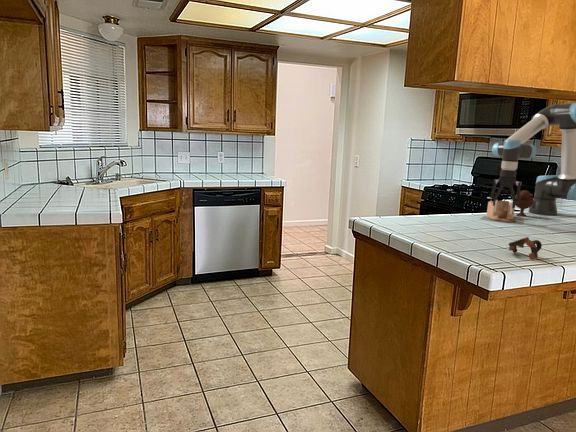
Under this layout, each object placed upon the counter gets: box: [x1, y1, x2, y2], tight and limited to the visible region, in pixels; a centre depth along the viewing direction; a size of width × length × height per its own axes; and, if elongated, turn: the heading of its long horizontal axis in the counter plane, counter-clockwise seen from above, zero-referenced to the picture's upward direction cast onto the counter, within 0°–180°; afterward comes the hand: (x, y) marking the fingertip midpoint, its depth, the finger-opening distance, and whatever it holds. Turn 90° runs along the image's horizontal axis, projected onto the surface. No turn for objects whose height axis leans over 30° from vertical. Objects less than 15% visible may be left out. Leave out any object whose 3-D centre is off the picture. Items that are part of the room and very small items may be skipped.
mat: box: [479, 215, 525, 226], centre depth 238 cm, size 20×14×1 cm
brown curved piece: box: [508, 236, 543, 260], centre depth 167 cm, size 12×10×8 cm
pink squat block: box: [486, 200, 516, 218], centre depth 250 cm, size 13×13×8 cm
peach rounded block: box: [489, 200, 517, 224], centre depth 237 cm, size 13×13×10 cm
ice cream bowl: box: [515, 189, 534, 218], centre depth 257 cm, size 11×11×15 cm
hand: (502, 212), depth 237 cm, fingers open, 7 cm apart
